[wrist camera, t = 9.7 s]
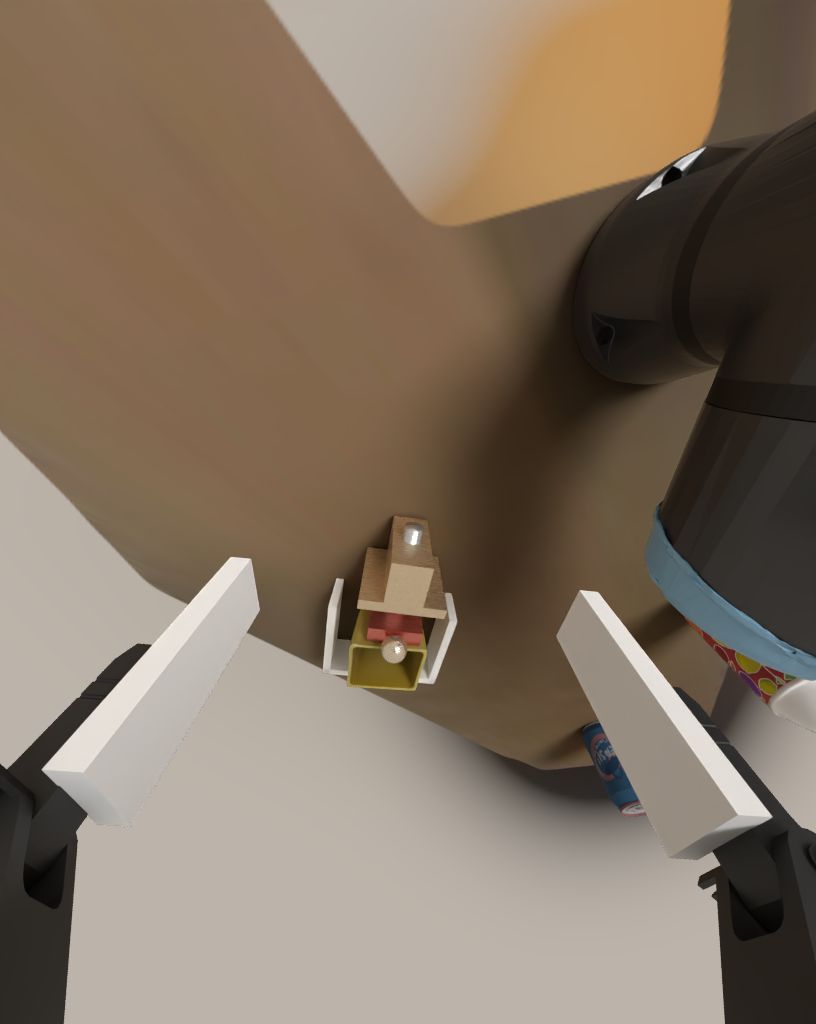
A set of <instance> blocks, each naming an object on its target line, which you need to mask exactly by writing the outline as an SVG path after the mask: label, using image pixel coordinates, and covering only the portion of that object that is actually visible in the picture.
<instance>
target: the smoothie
mask: <svg viewBox="0 0 816 1024" xmlns="http://www.w3.org/2000/svg"><path fill="white" fill-rule="evenodd" d="M684 618H685V619H686V621H687V622H688V623H689V624H690V625H691V626H692V627H693V628H694V629H695V630H696V631H697V632H698V633H699V634H700V635H701V636H702V638H703V639H704V640H705V641H706V642H707V643H708V644H709V645H710V646H711V647H712V648H713V649H714V650H715V651H716V652H717V653H718V654H719V655H720V656H721V657H722V659H723V660H724V661H725V662H726V663H727V664H728V665H729V666H730V667H731V668H732V669H733V670H734V671H735V672H736V673H737V674H738V675H739V676H740V677H741V679H742V680H743V681H744V682H745V683H746V684H747V685H748V686H749V687H750V688H751V689H752V690H753V691H754V692H755V693H756V694H757V695H758V696H759V697H760V698H761V699H762V701H763V702H764V703H765V704H766V705H767V706H768V707H769V708H770V709H771V711H772V712H773V713H774V714H776V715H778V716H780V717H784V718H786V719H788V720H789V721H792V722H793V723H795V724H797V725H798V726H801V727H803V728H805V729H807V730H810V731H812V732H814V733H816V680H814V681H809V680H804V679H801V678H797V677H794V676H791V675H788V674H785V673H782V672H779V671H777V670H774V669H772V668H769V667H767V666H765V665H763V664H760V663H758V662H756V661H754V660H752V659H750V658H748V657H746V656H744V655H742V654H740V653H738V652H736V651H735V650H733V649H731V648H729V647H728V646H726V645H724V644H723V643H721V642H719V641H718V640H716V639H715V638H713V637H712V636H710V635H709V634H707V633H706V632H704V631H703V630H701V629H700V628H699V627H697V626H696V625H695V624H693V623H692V622H691V621H690V620H688V619H687V618H686V617H685V616H684Z"/></svg>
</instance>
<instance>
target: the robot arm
mask: <svg viewBox="0 0 816 1024" xmlns="http://www.w3.org/2000/svg"><path fill="white" fill-rule="evenodd" d="M573 322H574V330H575V335H576V339H577V342H578V345H579V348H580V350H581V352H582V354H583V356H584V357H585V359H586V360H587V362H588V363H589V364H590V365H591V366H592V367H593V368H594V369H595V370H596V371H597V372H598V373H600V374H602V375H603V376H605V377H607V378H609V379H612V380H615V381H619V382H625V383H633V384H642V385H649V384H660V383H666V382H670V381H674V380H677V379H681V378H684V377H687V376H691V375H694V374H698V373H701V372H704V371H708V370H711V369H714V368H718V367H719V369H718V371H717V373H716V377H715V379H714V381H713V384H712V386H711V389H710V391H709V393H708V396H707V398H706V400H705V401H704V403H703V406H702V408H701V411H700V413H699V416H698V418H697V420H696V423H695V425H694V428H693V430H692V433H691V435H690V437H689V440H688V442H687V445H686V447H685V449H684V452H683V454H682V457H681V459H680V462H679V464H678V466H677V469H676V471H675V474H674V476H673V479H672V481H671V483H670V486H669V488H668V491H667V493H666V495H665V498H664V500H663V501H662V502H661V503H660V504H659V505H658V506H656V509H655V511H654V515H653V520H654V524H653V527H652V530H651V533H650V536H649V539H648V542H647V545H646V549H645V562H646V567H647V570H648V572H649V575H650V576H651V578H652V580H653V581H654V583H655V584H656V585H657V586H658V587H659V588H660V589H661V591H662V594H663V596H664V597H665V598H666V599H667V600H668V601H669V602H670V603H671V604H672V605H673V606H674V607H675V608H676V609H677V610H678V611H679V612H680V613H681V614H682V615H684V616H685V617H686V618H687V619H688V620H690V621H691V622H692V623H693V624H695V625H696V626H697V627H699V628H700V629H701V630H703V631H704V632H706V633H707V634H709V635H710V636H712V637H713V638H715V639H716V640H718V641H719V642H721V643H723V644H724V645H726V646H728V647H729V648H731V649H733V650H735V651H736V652H738V653H740V654H742V655H744V656H746V657H748V658H750V659H752V660H754V661H756V662H758V663H760V664H763V665H765V666H767V667H769V668H772V669H774V670H777V671H779V672H782V673H785V674H788V675H791V676H794V677H797V678H801V679H804V680H809V681H814V680H816V110H815V111H813V112H812V113H810V114H809V115H807V116H806V117H804V118H802V119H800V120H799V121H797V122H795V123H794V124H792V125H790V126H788V127H787V128H785V129H783V130H780V131H775V132H770V133H765V134H760V135H755V136H750V137H745V138H740V139H735V140H731V141H726V142H721V143H716V144H712V145H708V146H705V147H702V148H700V149H697V150H695V151H693V152H690V153H688V154H686V155H684V156H682V157H680V158H679V159H677V160H675V161H673V162H672V163H670V164H669V165H667V166H666V167H664V168H663V169H662V170H660V171H659V172H657V173H656V174H654V175H653V176H652V177H650V178H649V179H647V180H646V181H645V182H643V183H642V184H641V185H639V186H638V187H637V188H636V189H635V190H633V191H632V192H631V193H630V194H629V195H628V196H627V197H626V198H625V199H624V200H623V201H622V202H621V203H620V204H619V205H618V206H617V208H616V209H615V210H614V211H613V212H612V214H611V215H610V216H609V218H608V219H607V220H606V222H605V223H604V224H603V226H602V227H601V229H600V230H599V232H598V234H597V236H596V237H595V239H594V241H593V243H592V245H591V246H590V248H589V251H588V253H587V255H586V257H585V260H584V262H583V265H582V268H581V271H580V274H579V277H578V281H577V285H576V290H575V296H574V305H573ZM259 611H260V608H259V602H258V596H257V591H256V585H255V579H254V573H253V568H252V562H251V559H247V558H236V557H230V559H229V560H228V561H227V562H226V563H225V564H224V565H223V566H222V567H221V569H220V570H219V571H218V572H217V573H216V574H215V575H214V576H213V578H212V579H211V580H210V581H209V582H208V583H207V584H206V585H205V587H204V588H203V589H202V590H201V591H200V592H199V593H198V594H197V596H196V597H195V598H194V599H193V600H192V601H191V602H190V603H189V605H188V606H187V607H186V608H185V609H184V610H183V612H181V614H180V615H179V616H178V617H177V618H176V619H175V620H174V621H173V623H172V624H171V625H170V626H169V627H168V628H167V629H166V631H165V632H164V633H163V634H162V635H161V636H160V637H159V638H158V639H157V641H156V642H155V643H154V644H153V645H148V644H136V645H135V646H133V647H132V648H130V649H129V650H127V651H126V652H125V653H123V654H122V655H120V656H119V657H117V658H116V659H115V660H113V662H112V663H111V664H110V665H109V666H108V667H107V668H106V669H105V670H104V671H103V672H102V673H101V674H100V675H99V676H98V677H97V680H96V681H95V682H92V683H91V684H90V685H89V686H88V687H87V688H86V689H85V690H84V691H83V693H82V694H81V696H80V697H79V698H77V699H76V700H75V701H74V702H73V703H72V704H71V705H70V706H69V707H68V708H67V709H66V710H65V711H64V712H63V713H62V714H61V715H60V716H59V717H58V718H57V719H56V720H55V721H54V722H53V723H52V724H51V725H50V726H49V727H48V728H47V729H46V730H45V731H44V732H43V734H41V736H40V737H39V738H38V739H37V740H36V741H35V742H34V743H33V744H32V745H31V746H30V747H29V748H28V749H27V750H26V751H25V752H24V753H23V754H22V755H21V756H20V757H19V758H18V759H17V760H16V761H15V762H14V763H13V764H12V765H11V766H10V767H9V768H8V769H5V768H4V767H3V766H2V765H1V764H0V1024H64V1012H65V1000H66V987H67V974H68V973H67V972H68V960H69V947H70V934H71V921H72V908H73V894H74V882H75V869H76V856H77V843H78V840H77V835H76V831H77V829H78V828H79V826H80V825H81V824H82V822H83V821H84V819H85V818H86V817H87V815H88V816H89V817H90V818H91V819H92V820H93V821H94V822H95V823H96V824H97V825H107V826H125V827H131V826H132V825H133V823H134V821H135V820H136V818H137V816H138V815H139V813H140V811H141V810H142V808H143V806H144V805H145V803H146V801H147V799H148V798H149V796H150V794H151V793H152V791H153V789H154V788H155V786H156V784H157V783H158V781H159V779H160V778H161V776H162V774H163V772H164V771H165V769H166V767H167V766H168V764H169V762H170V761H171V759H172V757H173V756H174V754H175V752H176V751H177V749H178V747H179V746H180V744H181V742H182V741H183V739H184V737H185V735H186V734H187V732H188V730H189V729H190V727H191V725H192V724H193V722H194V720H195V719H196V717H197V715H198V714H199V712H200V710H201V708H202V707H203V705H204V703H205V702H206V700H207V698H208V697H209V695H210V693H211V691H212V690H213V688H214V687H215V685H216V683H217V681H218V680H219V678H220V676H221V675H222V673H223V671H224V669H225V668H226V666H227V665H228V663H229V661H230V660H231V658H232V656H233V654H234V653H235V651H236V649H237V648H238V646H239V644H240V643H241V641H242V639H243V638H244V636H245V634H246V633H247V631H248V629H249V628H250V626H251V624H252V623H253V621H254V619H255V617H256V616H257V614H258V612H259ZM556 637H557V639H558V641H559V643H560V645H561V647H562V649H563V651H564V653H565V655H566V657H567V659H568V661H569V663H570V665H571V667H572V669H573V671H574V673H575V675H576V676H577V678H578V680H579V682H580V684H581V686H582V688H583V690H584V692H585V694H586V696H587V698H588V700H589V702H590V704H591V706H592V708H593V710H594V712H595V714H596V716H597V718H598V720H599V722H600V724H601V726H602V728H603V730H604V732H605V734H606V736H607V738H608V740H609V741H610V743H611V745H612V747H613V749H614V751H615V753H616V755H617V757H618V759H619V761H620V763H621V765H622V767H623V769H624V771H625V773H626V775H627V777H628V779H629V781H630V783H631V785H632V787H633V789H634V791H635V793H636V795H637V797H638V799H639V801H640V803H641V805H642V806H643V808H644V810H645V812H646V814H647V816H648V818H649V820H650V822H651V824H652V826H653V828H654V830H655V832H656V834H657V836H658V838H659V840H660V842H661V844H662V846H663V848H664V850H665V852H666V854H667V856H668V857H669V858H676V859H693V860H698V859H700V858H702V857H703V856H705V855H707V854H709V853H711V852H712V851H713V853H714V855H715V856H716V858H717V859H718V861H719V863H720V866H718V867H716V868H714V869H712V870H710V871H709V872H707V873H705V874H703V875H701V876H700V877H699V881H698V886H699V887H701V888H702V889H706V888H708V887H710V886H712V885H714V884H716V888H717V891H715V892H714V893H713V894H712V897H713V898H714V899H715V900H716V901H717V905H718V920H719V936H720V951H721V968H722V984H723V999H724V1014H725V1024H816V833H814V832H812V831H810V830H808V829H804V828H801V827H800V826H799V825H798V824H797V823H796V822H795V821H794V819H793V818H792V817H791V816H790V815H789V814H788V813H787V811H786V810H785V809H784V808H783V807H782V805H781V804H780V803H779V802H778V800H777V799H776V798H775V797H774V796H773V794H772V793H771V792H770V791H769V789H768V788H767V787H766V786H765V785H764V783H763V782H762V781H761V780H760V779H759V777H758V776H757V775H756V773H755V772H754V771H753V770H752V769H751V767H750V766H749V765H748V764H747V762H746V761H745V760H744V759H743V758H742V756H741V755H740V754H739V753H738V751H737V750H736V749H735V748H734V747H733V746H731V745H730V744H729V740H728V739H727V738H726V737H725V736H724V734H723V733H722V732H721V731H720V729H717V728H716V725H715V723H714V722H713V721H712V720H711V718H710V717H709V716H708V715H707V713H706V712H705V711H704V710H703V709H702V707H701V706H700V705H699V704H698V703H697V702H696V701H694V700H693V699H692V698H691V697H690V696H689V695H688V694H686V693H685V692H684V691H683V690H682V689H681V688H679V687H671V685H670V684H669V683H668V682H667V680H666V679H665V678H664V676H663V675H662V674H661V673H660V671H659V670H658V669H657V667H656V666H655V665H654V664H653V662H652V661H651V660H650V658H649V657H648V656H647V655H646V653H645V652H644V651H643V649H642V648H641V647H640V646H639V644H638V643H637V642H636V640H635V639H634V638H633V637H632V635H631V634H630V633H629V631H628V630H627V629H626V628H625V626H624V625H623V624H622V622H621V621H620V620H619V619H618V617H617V616H616V615H615V613H614V612H613V611H612V610H611V608H610V607H609V606H608V604H607V603H606V602H605V601H604V599H603V598H602V597H601V595H600V594H599V593H598V592H593V591H582V590H579V592H578V594H577V596H576V598H575V600H574V602H573V604H572V606H571V608H570V610H569V612H568V614H567V616H566V618H565V620H564V622H563V624H562V626H561V628H560V630H559V632H558V634H557V636H556Z"/></svg>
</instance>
